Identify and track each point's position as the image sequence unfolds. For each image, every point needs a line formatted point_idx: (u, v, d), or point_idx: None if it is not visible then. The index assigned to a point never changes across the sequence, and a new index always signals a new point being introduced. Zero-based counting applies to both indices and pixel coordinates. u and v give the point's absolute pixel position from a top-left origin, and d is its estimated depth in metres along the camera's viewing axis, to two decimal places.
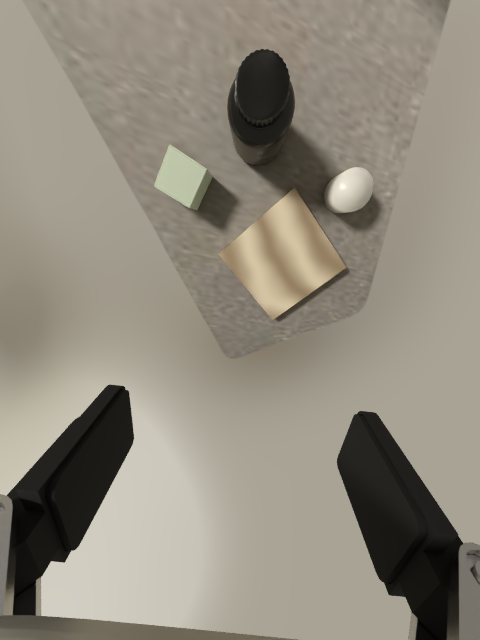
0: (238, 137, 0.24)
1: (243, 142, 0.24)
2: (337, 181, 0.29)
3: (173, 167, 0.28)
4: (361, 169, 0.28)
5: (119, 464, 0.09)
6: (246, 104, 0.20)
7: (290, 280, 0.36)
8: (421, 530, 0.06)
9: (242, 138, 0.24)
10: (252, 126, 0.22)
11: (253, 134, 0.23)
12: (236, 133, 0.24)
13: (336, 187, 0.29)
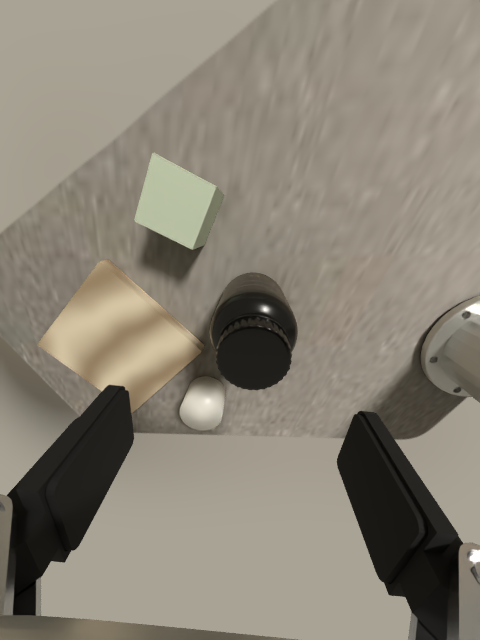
0: (218, 308, 0.17)
1: (213, 315, 0.17)
2: (206, 400, 0.26)
3: (186, 192, 0.17)
4: (220, 418, 0.27)
5: (119, 464, 0.09)
6: (232, 341, 0.14)
7: (97, 359, 0.28)
8: (421, 530, 0.06)
9: (215, 315, 0.17)
10: (218, 340, 0.15)
11: (217, 333, 0.17)
12: (220, 307, 0.17)
13: (201, 400, 0.26)
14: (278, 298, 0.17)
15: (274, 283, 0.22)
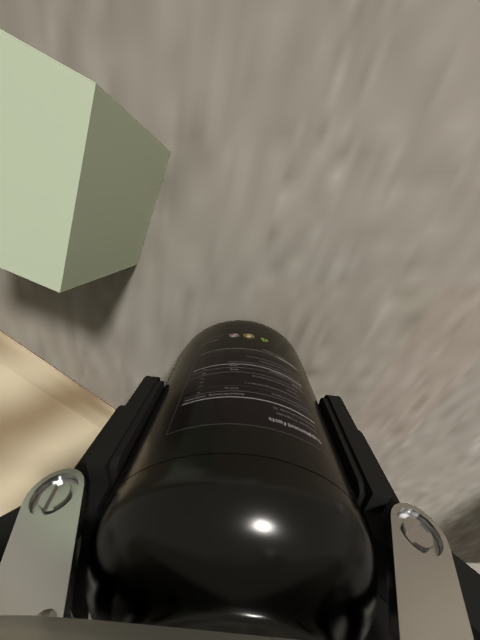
0: (104, 514, 0.05)
1: (94, 526, 0.05)
2: None
3: None
4: None
5: None
6: None
7: None
8: (362, 493, 0.06)
9: (92, 546, 0.05)
10: None
11: None
12: (106, 525, 0.04)
13: None
14: (318, 489, 0.05)
15: (285, 354, 0.10)
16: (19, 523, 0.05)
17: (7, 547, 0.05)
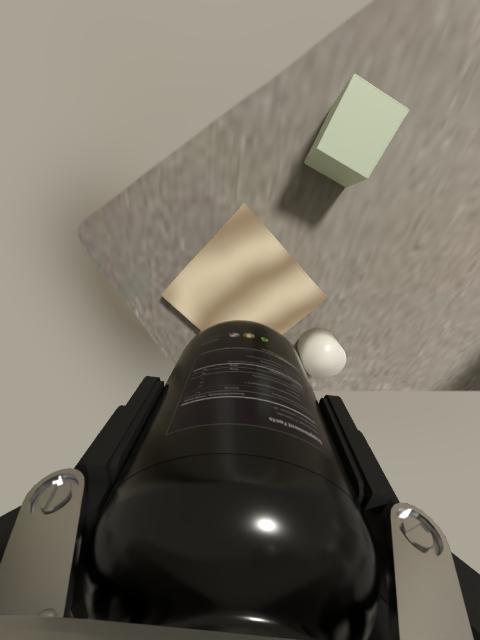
0: (103, 515, 0.05)
1: (93, 527, 0.05)
2: (334, 345, 0.26)
3: (377, 116, 0.18)
4: (343, 364, 0.27)
5: None
6: None
7: (219, 309, 0.28)
8: (362, 493, 0.06)
9: (91, 548, 0.05)
10: None
11: None
12: (105, 526, 0.04)
13: (328, 345, 0.27)
14: (319, 490, 0.04)
15: (286, 353, 0.10)
16: (19, 523, 0.05)
17: (7, 547, 0.05)
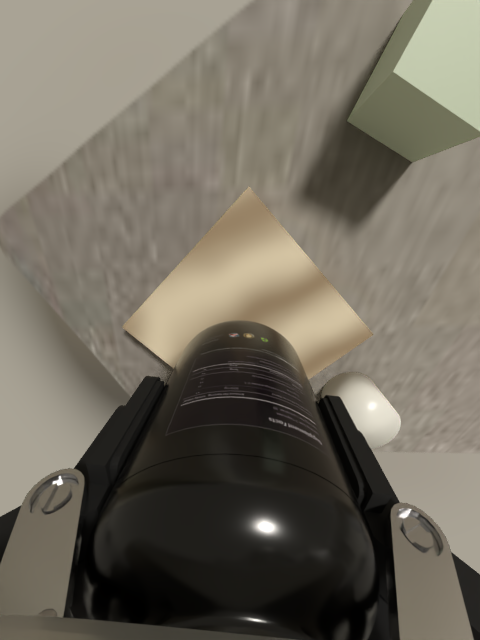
0: (103, 516, 0.05)
1: (93, 528, 0.05)
2: (384, 406, 0.17)
3: None
4: (395, 432, 0.18)
5: None
6: None
7: None
8: (362, 493, 0.06)
9: (91, 548, 0.05)
10: None
11: None
12: (104, 526, 0.04)
13: (375, 407, 0.17)
14: (319, 490, 0.04)
15: (285, 354, 0.10)
16: (19, 523, 0.05)
17: (7, 547, 0.05)
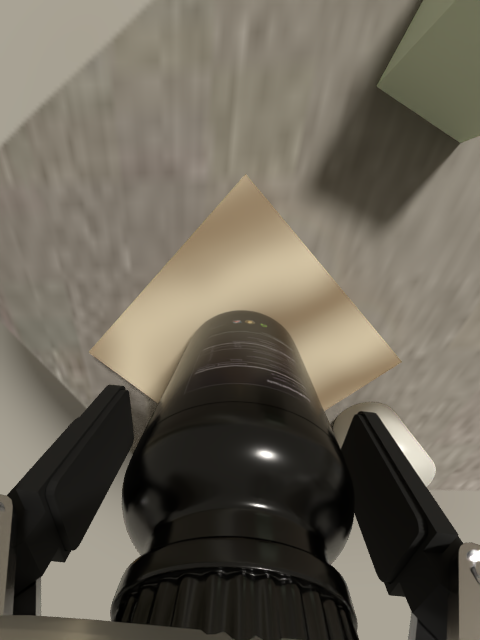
0: (138, 452, 0.06)
1: (129, 464, 0.06)
2: (416, 452, 0.14)
3: None
4: (428, 482, 0.15)
5: (119, 464, 0.09)
6: None
7: None
8: (421, 530, 0.06)
9: (129, 475, 0.06)
10: (113, 610, 0.05)
11: (133, 533, 0.06)
12: (141, 456, 0.06)
13: (405, 453, 0.14)
14: (306, 427, 0.06)
15: (282, 337, 0.11)
16: None
17: None
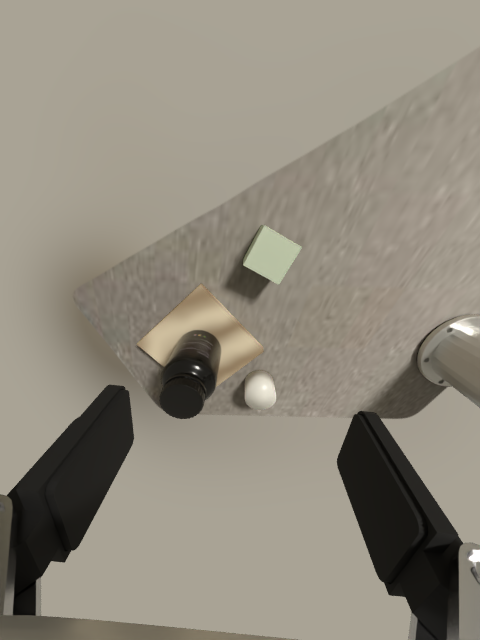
0: (165, 366, 0.27)
1: (163, 369, 0.28)
2: (266, 387, 0.36)
3: (281, 249, 0.27)
4: (274, 400, 0.36)
5: (119, 464, 0.09)
6: (168, 392, 0.24)
7: None
8: (421, 530, 0.06)
9: (163, 371, 0.27)
10: (162, 388, 0.26)
11: (164, 382, 0.27)
12: (166, 366, 0.27)
13: (262, 387, 0.36)
14: (202, 361, 0.27)
15: (210, 340, 0.32)
16: None
17: None
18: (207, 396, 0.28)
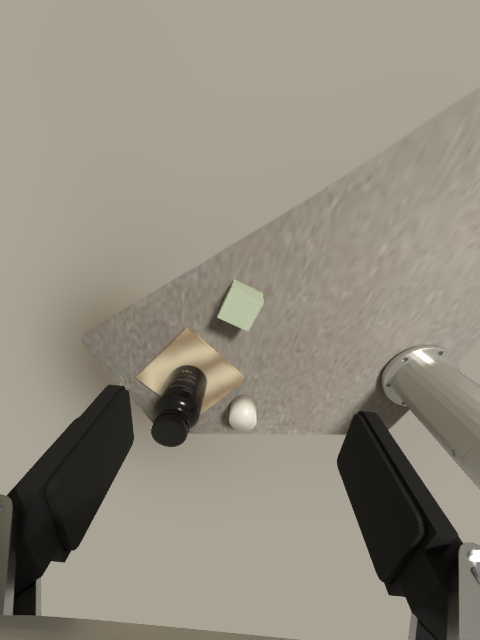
0: (156, 402, 0.33)
1: (155, 405, 0.34)
2: (247, 412, 0.41)
3: (247, 305, 0.32)
4: (255, 423, 0.42)
5: (119, 464, 0.09)
6: (157, 427, 0.30)
7: None
8: (421, 530, 0.06)
9: (155, 406, 0.33)
10: (154, 422, 0.32)
11: (156, 416, 0.33)
12: (157, 402, 0.33)
13: (243, 412, 0.41)
14: (186, 397, 0.33)
15: (195, 375, 0.38)
16: None
17: None
18: (192, 426, 0.34)
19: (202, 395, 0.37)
